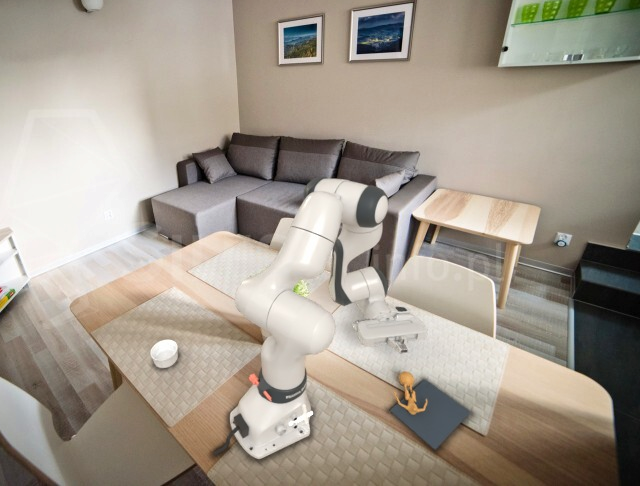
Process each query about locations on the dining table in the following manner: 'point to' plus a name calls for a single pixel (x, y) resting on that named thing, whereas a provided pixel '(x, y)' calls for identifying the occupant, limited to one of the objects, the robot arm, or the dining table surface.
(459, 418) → the felt mat
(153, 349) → the ramekin
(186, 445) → the dining table surface
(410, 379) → the figurine
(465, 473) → the dining table surface
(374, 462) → the dining table surface
